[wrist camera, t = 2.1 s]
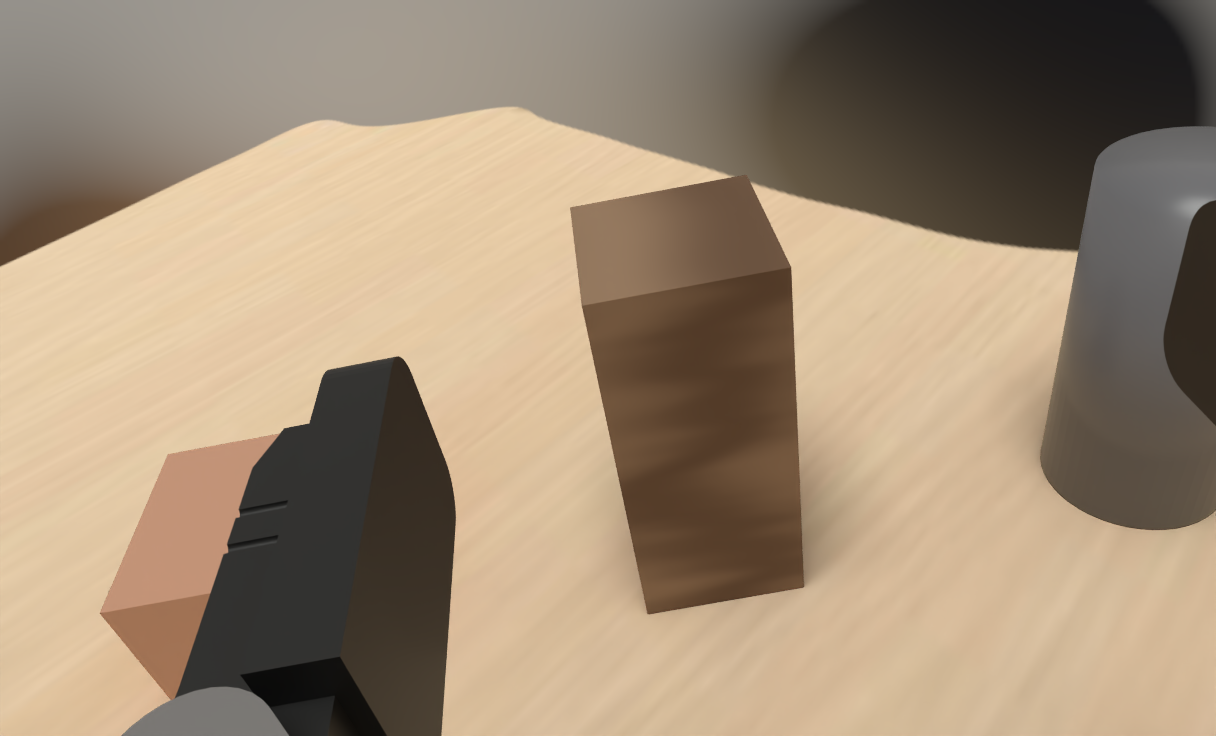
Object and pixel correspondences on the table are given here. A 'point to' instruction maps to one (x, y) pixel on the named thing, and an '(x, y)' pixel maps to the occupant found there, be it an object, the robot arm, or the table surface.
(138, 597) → the terracotta block
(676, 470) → the walnut column
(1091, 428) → the charcoal cylinder
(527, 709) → the table surface
